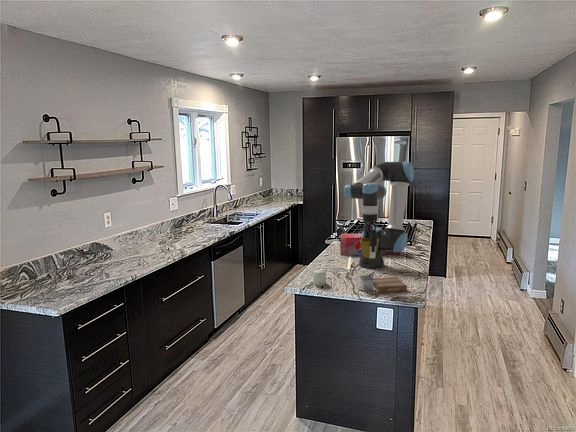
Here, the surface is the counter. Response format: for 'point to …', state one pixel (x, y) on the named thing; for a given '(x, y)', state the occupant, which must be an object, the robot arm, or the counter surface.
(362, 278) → the metal tin
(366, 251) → the flower pot
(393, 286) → the brown curved panel
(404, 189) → the robot arm
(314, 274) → the pale green rounded cylinder
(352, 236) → the soda box
